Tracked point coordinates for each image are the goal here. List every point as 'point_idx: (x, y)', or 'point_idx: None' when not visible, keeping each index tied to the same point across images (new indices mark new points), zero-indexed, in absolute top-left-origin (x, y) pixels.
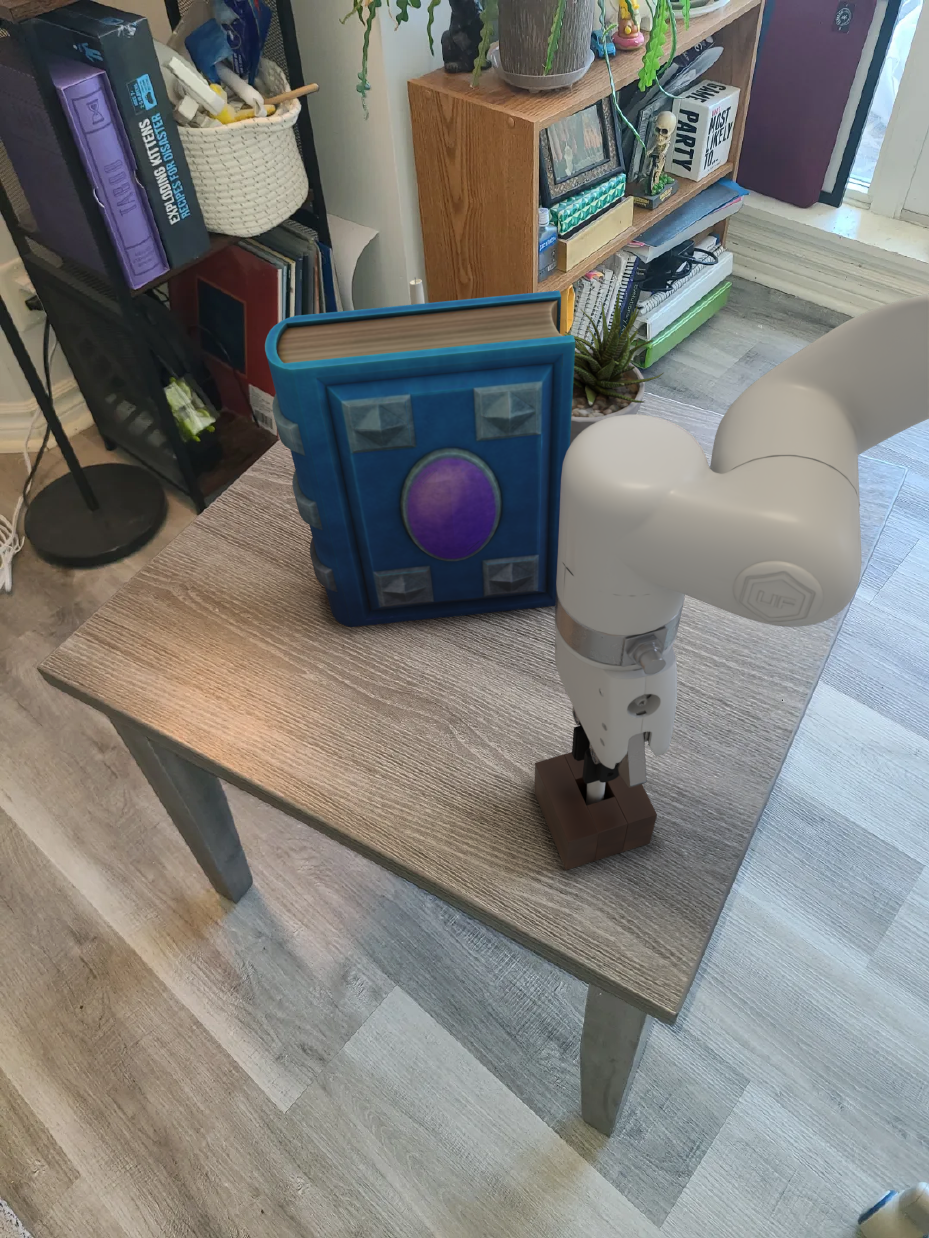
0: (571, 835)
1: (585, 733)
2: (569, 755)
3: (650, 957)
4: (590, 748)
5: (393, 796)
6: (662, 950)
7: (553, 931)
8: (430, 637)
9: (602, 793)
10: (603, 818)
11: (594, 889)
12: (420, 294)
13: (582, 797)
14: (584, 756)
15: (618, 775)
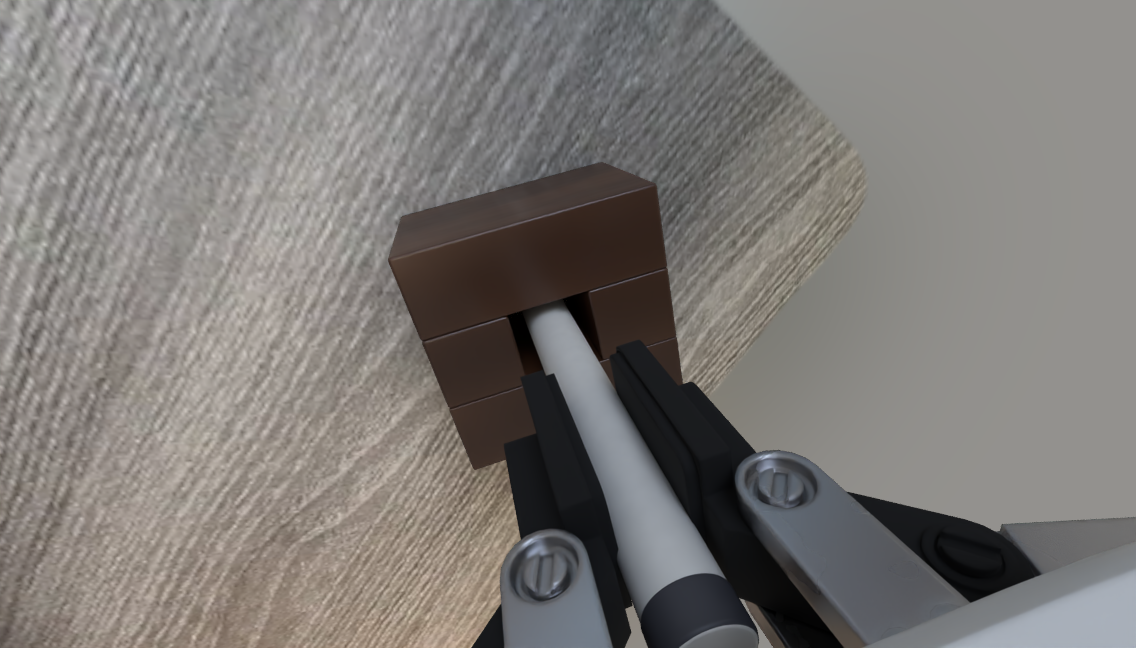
0: None
1: (627, 592)
2: (454, 396)
3: (809, 203)
4: (756, 619)
5: (467, 590)
6: (805, 179)
7: (728, 357)
8: (27, 611)
9: (574, 320)
10: (642, 323)
11: (676, 288)
12: None
13: None
14: None
15: (693, 384)
